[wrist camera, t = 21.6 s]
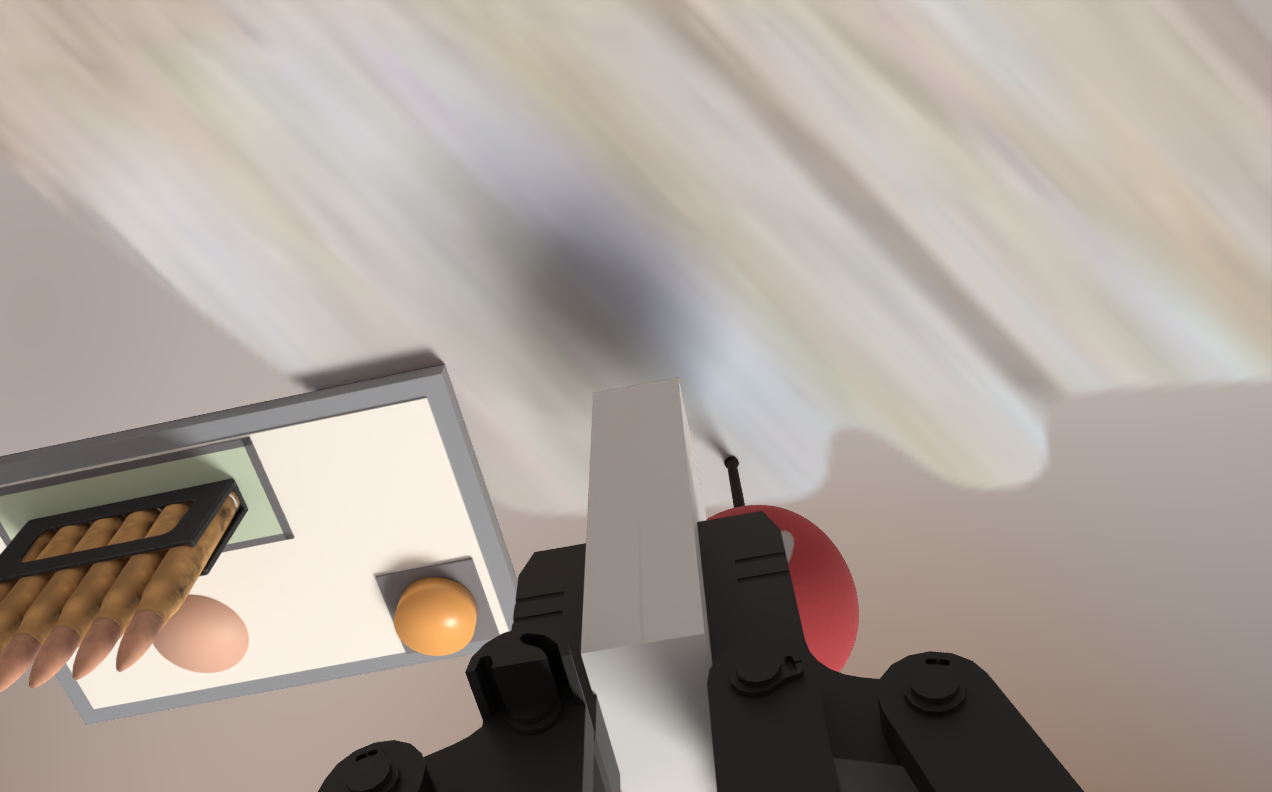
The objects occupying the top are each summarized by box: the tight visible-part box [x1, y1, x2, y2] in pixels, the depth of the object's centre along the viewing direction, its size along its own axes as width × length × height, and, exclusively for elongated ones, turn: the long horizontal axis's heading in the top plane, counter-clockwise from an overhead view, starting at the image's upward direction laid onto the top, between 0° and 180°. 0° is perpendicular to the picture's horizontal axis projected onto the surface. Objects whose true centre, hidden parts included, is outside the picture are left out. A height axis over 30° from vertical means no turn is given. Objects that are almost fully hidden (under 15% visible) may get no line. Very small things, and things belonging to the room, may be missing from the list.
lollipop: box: [707, 457, 859, 672], centre depth 45 cm, size 8×8×15 cm
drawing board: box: [0, 364, 518, 725], centre depth 54 cm, size 16×25×1 cm, turn 102°
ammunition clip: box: [0, 478, 248, 692], centre depth 46 cm, size 11×2×12 cm, turn 103°
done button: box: [394, 577, 478, 656], centre depth 54 cm, size 4×4×1 cm
